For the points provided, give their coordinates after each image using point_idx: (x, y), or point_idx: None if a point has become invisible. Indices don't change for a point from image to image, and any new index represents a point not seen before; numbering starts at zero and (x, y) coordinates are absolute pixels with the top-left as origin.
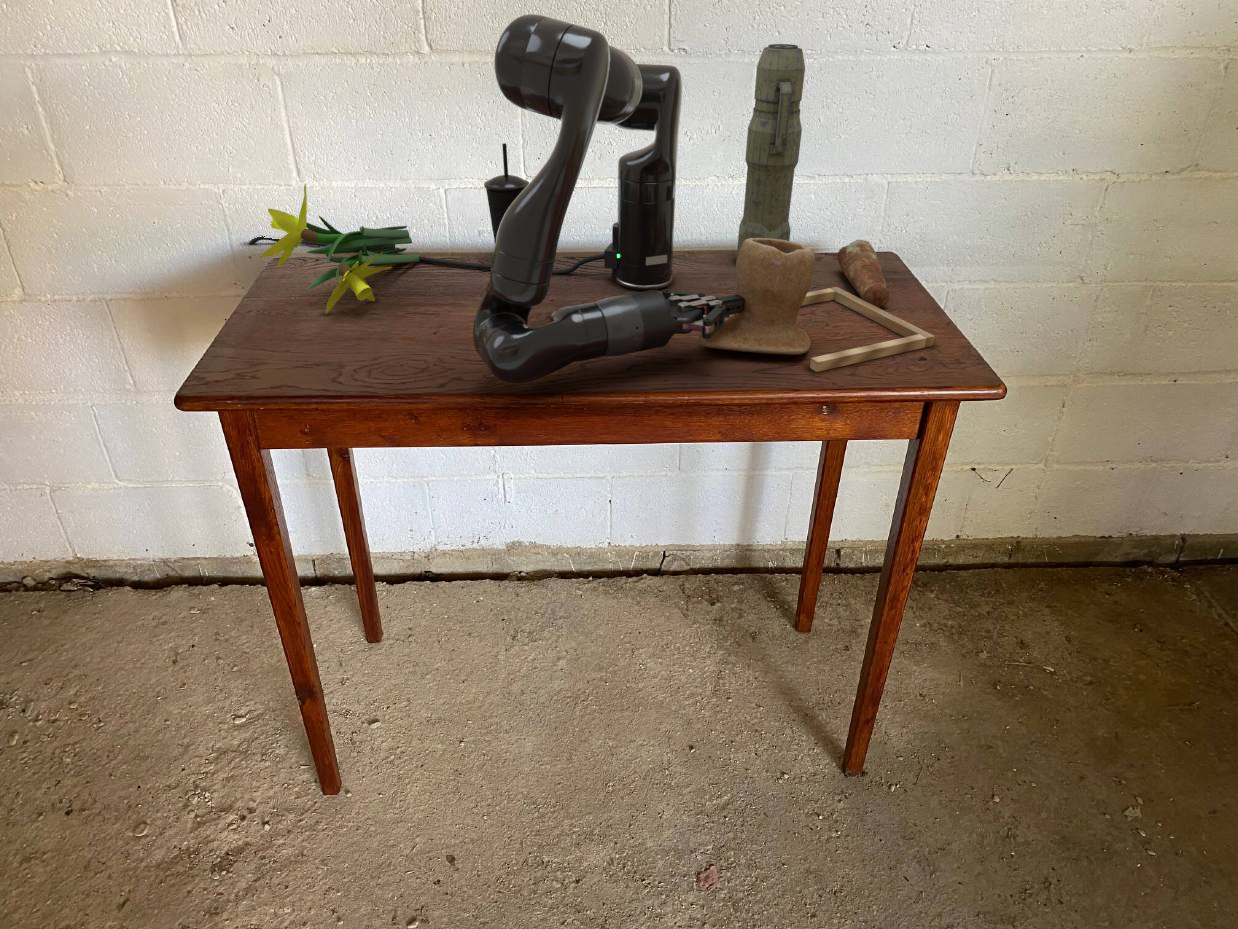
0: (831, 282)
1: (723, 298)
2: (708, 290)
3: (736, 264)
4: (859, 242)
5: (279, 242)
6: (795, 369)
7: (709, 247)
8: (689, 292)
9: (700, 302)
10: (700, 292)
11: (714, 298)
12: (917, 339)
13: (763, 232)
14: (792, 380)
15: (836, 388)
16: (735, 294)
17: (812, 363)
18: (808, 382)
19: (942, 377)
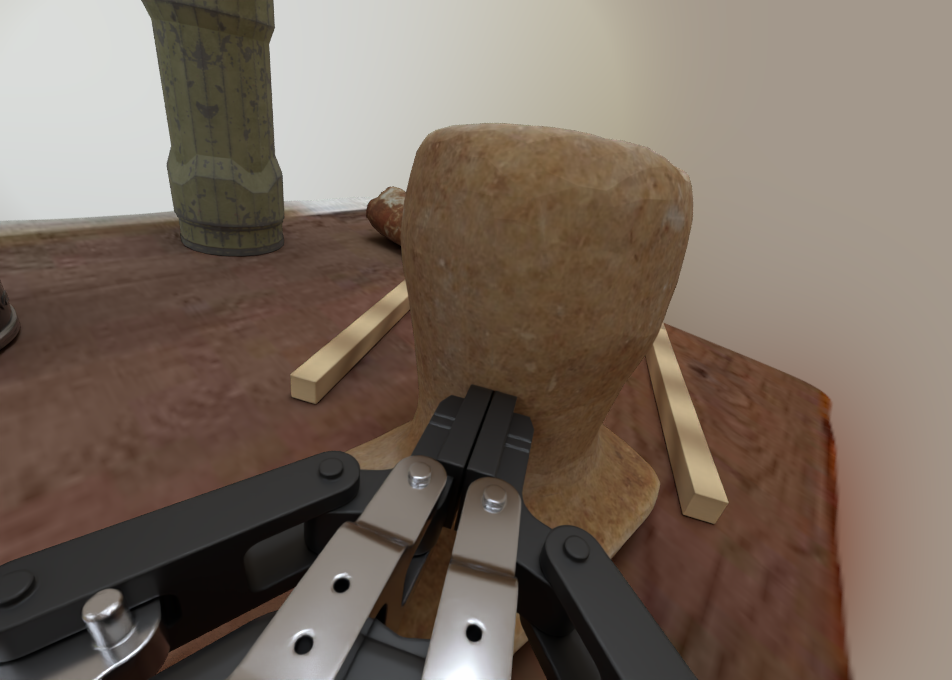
0: (384, 257)
1: (468, 446)
2: (164, 326)
3: (446, 254)
4: (396, 190)
5: None
6: (679, 547)
7: (93, 221)
8: (246, 494)
9: (482, 632)
10: (326, 464)
11: (443, 475)
12: (667, 337)
13: (240, 176)
14: (759, 622)
15: (832, 569)
16: (471, 391)
17: (699, 505)
18: (781, 595)
19: (782, 402)
